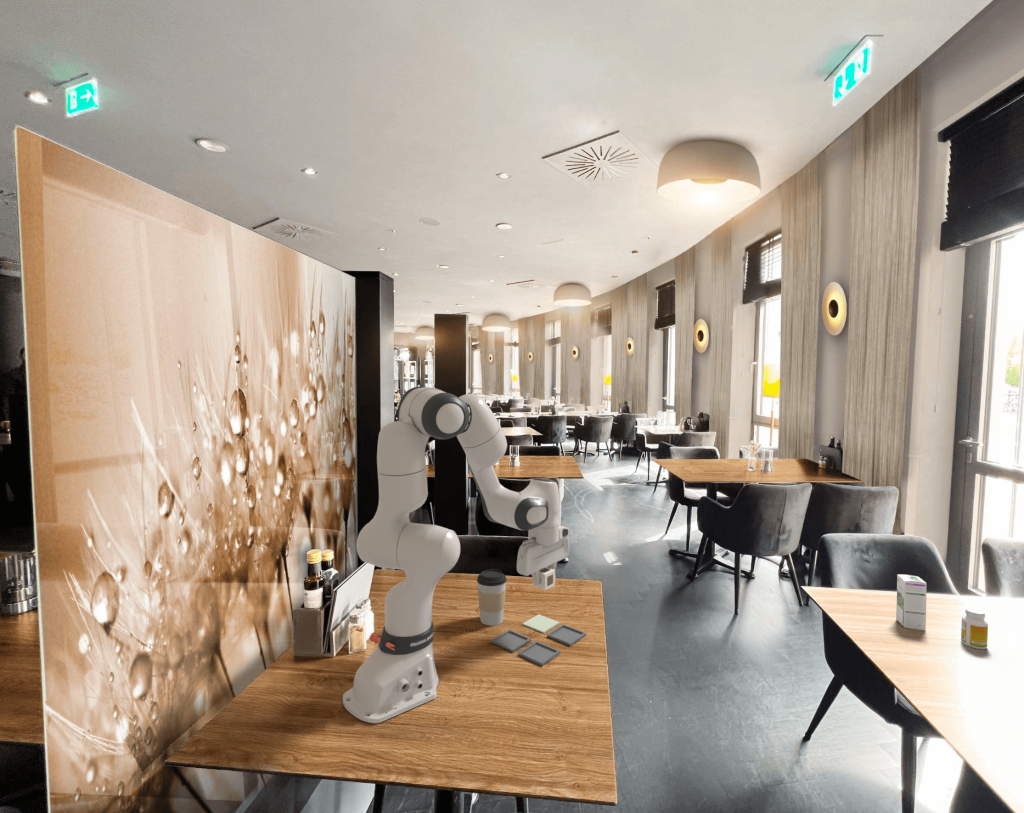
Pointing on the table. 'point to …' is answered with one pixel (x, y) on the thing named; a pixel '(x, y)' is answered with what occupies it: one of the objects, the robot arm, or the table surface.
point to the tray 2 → (539, 653)
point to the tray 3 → (566, 635)
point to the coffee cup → (491, 596)
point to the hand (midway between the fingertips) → (543, 580)
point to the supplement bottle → (974, 629)
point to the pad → (541, 623)
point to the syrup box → (911, 602)
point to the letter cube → (546, 578)
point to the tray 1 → (511, 640)
